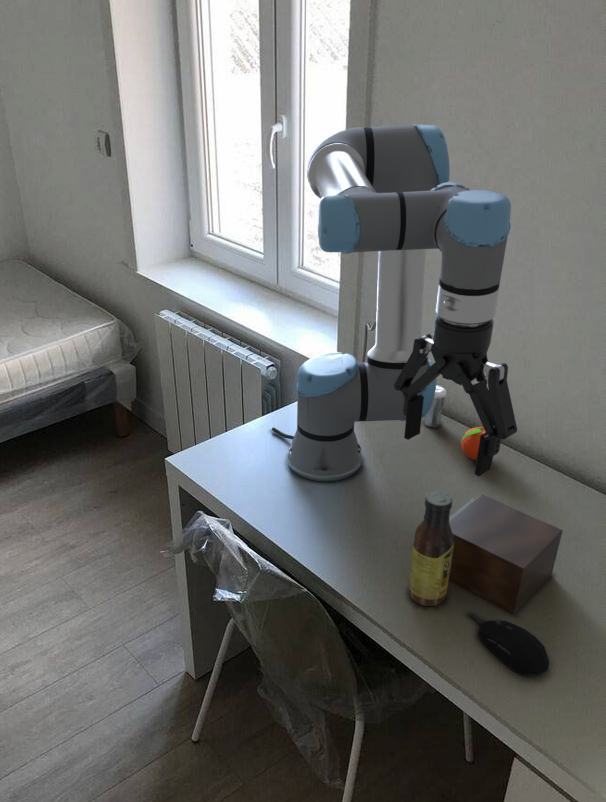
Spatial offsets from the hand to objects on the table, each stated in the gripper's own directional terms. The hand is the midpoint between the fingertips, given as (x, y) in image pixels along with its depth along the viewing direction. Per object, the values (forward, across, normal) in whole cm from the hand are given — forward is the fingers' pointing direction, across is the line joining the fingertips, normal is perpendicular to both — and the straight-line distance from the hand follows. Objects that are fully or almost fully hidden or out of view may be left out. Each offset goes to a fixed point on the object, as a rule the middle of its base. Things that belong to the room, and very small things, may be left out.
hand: (445, 453), depth 114 cm
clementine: (+29, -20, +39) cm, 52 cm away
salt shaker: (+29, -35, +43) cm, 62 cm away
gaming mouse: (+29, +15, 0) cm, 32 cm away
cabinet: (+28, +4, +12) cm, 31 cm away
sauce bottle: (+29, 0, 0) cm, 29 cm away
